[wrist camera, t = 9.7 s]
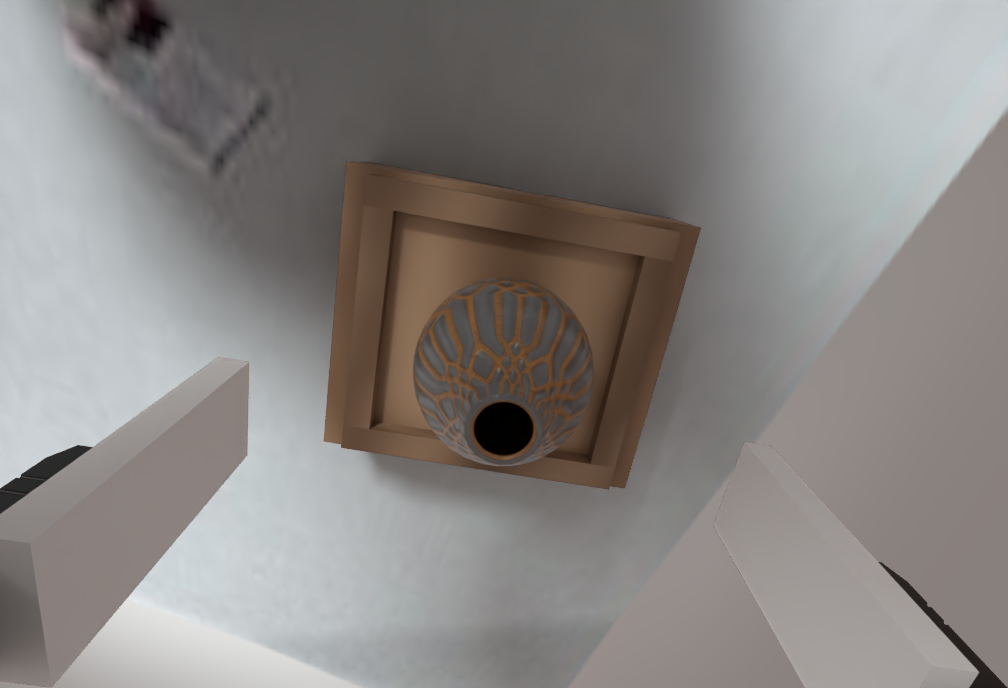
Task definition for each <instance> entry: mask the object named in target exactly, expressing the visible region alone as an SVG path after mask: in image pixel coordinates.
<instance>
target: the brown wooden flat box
mask: <svg viewBox="0 0 1008 688" xmlns="http://www.w3.org/2000/svg"><path fill="white" fill-rule="evenodd" d="M700 229H701V228H700V227H696V226H693V225H690V224H687V223H684V222H680V221H677V220H674V219H670V218H664V217H659V216H654V215H648V214H643V213H637V212H632V211H627V210H621V209H616V208H611V207H605V206H600V205H595V204H589V203H584V202H579V201H573V200H568V199H563V198H557V197H552V196H547V195H541V194H536V193H531V192H525V191H520V190H515V189H509V188H504V187H499V186H493V185H488V184H482V183H477V182H472V181H466V180H461V179H456V178H450V177H445V176H440V175H434V174H429V173H424V172H418V171H413V170H408V169H402V168H397V167H392V166H386V165H381V164H376V163H370V162H346V173H345V185H344V197H343V210H342V222H341V234H340V247H339V259H338V271H337V284H336V296H335V308H334V321H333V333H332V345H331V358H330V370H329V382H328V395H327V407H326V419H325V432H324V441H325V442H331V443H338V444H341V448H347V449H353V450H360V451H366V452H373V453H379V454H385V455H392V456H398V457H405V458H411V459H417V460H424V461H430V462H437V463H443V464H450V465H456V466H462V467H469V468H475V469H482V470H488V471H494V472H501V473H507V474H514V475H520V476H526V477H533V478H539V479H546V480H552V481H558V482H565V483H571V484H578V485H584V486H590V487H597V488H603V489H609V487H610V486H613V487H619V488H625V486H626V483H627V479H628V476H629V473H630V469H631V466H632V462H633V459H634V455H635V452H636V449H637V445H638V442H639V438H640V435H641V431H642V428H643V425H644V421H645V418H646V414H647V411H648V407H649V404H650V401H651V397H652V394H653V390H654V387H655V384H656V380H657V377H658V373H659V370H660V366H661V363H662V360H663V356H664V353H665V349H666V346H667V342H668V339H669V336H670V332H671V329H672V325H673V322H674V318H675V315H676V312H677V308H678V305H679V301H680V298H681V294H682V291H683V288H684V284H685V281H686V277H687V274H688V270H689V267H690V264H691V260H692V257H693V253H694V250H695V246H696V243H697V240H698V236H699V233H700ZM499 277H509V278H518V279H523V280H527V281H530V282H533V283H536V284H538V285H541V286H543V287H545V288H546V289H548V290H550V291H551V292H553V293H554V294H556V295H557V296H558V297H559V298H561V299H562V300H563V301H564V302H565V303H566V304H567V305H568V306H569V307H570V308H571V310H572V311H573V312H574V313H575V315H576V316H577V318H578V319H579V321H580V322H581V324H582V326H583V328H584V330H585V332H586V334H587V337H588V340H589V342H590V345H591V349H592V353H593V360H594V383H593V389H592V394H591V398H590V401H589V404H588V407H587V410H586V412H585V414H584V416H583V418H582V420H581V422H580V423H579V425H578V427H577V428H576V429H575V431H574V432H573V433H572V434H571V436H570V437H569V438H568V439H567V440H566V441H565V442H564V443H563V444H562V445H561V446H559V447H558V448H557V449H555V450H554V451H553V452H551V453H549V454H548V455H546V456H544V457H542V458H540V459H537V460H535V461H532V462H529V463H525V464H521V465H515V466H492V465H486V464H482V463H478V462H475V461H472V460H470V459H467V458H465V457H463V456H461V455H460V454H458V453H456V452H455V451H453V450H452V449H450V448H449V447H448V446H447V445H445V444H444V443H443V442H442V441H441V440H440V439H439V438H438V437H437V436H436V434H435V433H434V432H433V431H432V429H431V428H430V426H429V425H428V423H427V421H426V420H425V418H424V416H423V414H422V412H421V409H420V407H419V404H418V401H417V398H416V394H415V389H414V382H413V361H414V354H415V349H416V346H417V343H418V340H419V337H420V334H421V332H422V330H423V328H424V326H425V324H426V323H427V321H428V319H429V318H430V316H431V315H432V314H433V312H434V311H435V310H436V309H437V307H438V306H439V305H440V304H441V303H442V302H443V301H444V300H445V299H446V298H448V297H449V296H450V295H451V294H453V293H454V292H456V291H457V290H459V289H461V288H462V287H464V286H467V285H469V284H471V283H474V282H477V281H480V280H484V279H489V278H499Z"/></svg>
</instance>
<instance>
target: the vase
mask: <svg viewBox="0 0 1008 688" xmlns="http://www.w3.org/2000/svg"><path fill="white" fill-rule="evenodd" d="M413 382H414V389H415V394H416V398H417V401H418V404H419V407H420V409H421V412H422V414H423V416H424V418H425V420H426V421H427V423H428V425H429V426H430V428H431V429H432V431H433V432H434V433H435V434H436V436H437V437H438V438H439V439H440V440H441V441H442V442H443V443H444V444H445V445H447V446H448V447H449V448H450V449H452V450H453V451H455V452H456V453H458V454H460V455H461V456H463V457H465V458H467V459H470V460H472V461H475V462H478V463H482V464H486V465H492V466H515V465H521V464H525V463H529V462H532V461H535V460H537V459H540V458H542V457H544V456H546V455H548V454H549V453H551V452H553V451H554V450H555V449H557V448H558V447H559V446H561V445H562V444H563V443H564V442H565V441H566V440H567V439H568V438H569V437H570V436H571V434H572V433H573V432H574V431H575V429H576V428H577V427H578V425H579V423H580V422H581V420H582V418H583V416H584V414H585V412H586V410H587V407H588V404H589V401H590V398H591V394H592V389H593V383H594V360H593V353H592V349H591V345H590V342H589V340H588V337H587V334H586V332H585V330H584V328H583V326H582V324H581V322H580V321H579V319H578V318H577V316H576V315H575V313H574V312H573V311H572V310H571V308H570V307H569V306H568V305H567V304H566V303H565V302H564V301H563V300H562V299H561V298H559V297H558V296H557V295H556V294H554V293H553V292H551V291H550V290H548V289H546V288H545V287H543V286H541V285H538V284H536V283H533V282H530V281H527V280H523V279H518V278H509V277H499V278H489V279H484V280H480V281H477V282H474V283H471V284H469V285H467V286H464V287H462V288H461V289H459V290H457V291H456V292H454V293H453V294H451V295H450V296H449V297H448V298H446V299H445V300H444V301H443V302H442V303H441V304H440V305H439V306H438V307H437V309H436V310H435V311H434V312H433V314H432V315H431V316H430V318H429V319H428V321H427V323H426V324H425V326H424V328H423V330H422V332H421V334H420V337H419V340H418V343H417V346H416V349H415V354H414V361H413Z"/></svg>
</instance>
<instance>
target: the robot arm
mask: <svg viewBox="0 0 1008 688" xmlns="http://www.w3.org/2000/svg"><path fill="white" fill-rule="evenodd" d="M248 390H249V362H246V361H240V360H234V359H227V358H221V357H218V358H216V359H215V360H213V361H212V362H211V363H209V364H208V365H206V366H205V367H204V368H202V369H201V370H200V371H198V372H197V373H195V374H194V375H193V376H191V377H190V378H188V379H187V380H186V381H184V382H183V383H182V384H180V385H179V386H177V387H176V388H175V389H173V390H172V391H170V392H169V393H168V394H166V395H165V396H163V397H162V398H161V399H159V400H158V401H157V402H155V403H154V404H152V405H151V406H150V407H148V408H147V409H145V410H144V411H143V412H141V413H140V414H138V415H137V416H136V417H134V418H133V419H132V420H130V421H129V422H127V423H126V424H125V425H123V426H122V427H120V428H119V429H118V430H116V431H115V432H114V433H112V434H111V435H109V436H108V437H107V438H105V439H104V440H102V441H101V442H100V443H98V444H97V445H95V446H94V447H87V446H80V445H77V446H75V447H72V448H70V449H67V450H65V451H62V452H60V453H57V454H55V455H52V456H49V457H47V458H45V459H44V460H42V461H41V462H39V463H38V464H36V465H35V466H33V467H32V468H30V469H29V470H27V471H26V472H24V473H23V474H21V477H20V478H15V479H14V480H12V481H11V482H9V483H8V484H6V485H5V486H3V487H2V488H0V681H1V682H10V683H18V684H26V685H35V686H43V687H53V685H54V684H55V683H56V682H57V681H58V680H59V678H60V677H61V676H62V675H63V674H64V672H65V671H66V670H67V669H68V668H69V666H70V665H71V664H72V663H73V662H74V661H75V659H76V658H77V657H78V656H79V654H80V653H81V652H82V651H83V650H84V649H85V647H86V646H87V645H88V644H89V643H90V642H91V640H92V639H93V638H94V637H95V635H96V634H97V633H98V632H99V631H100V630H101V628H102V627H103V626H104V625H105V624H106V622H107V621H108V620H109V619H110V618H111V617H112V615H113V614H114V613H115V612H116V611H117V609H118V608H119V607H120V606H121V605H122V604H123V602H124V601H125V600H126V599H127V598H128V596H129V595H130V594H131V593H132V592H133V590H134V589H135V588H136V587H137V586H138V585H139V583H140V582H141V581H142V580H143V579H144V577H145V576H146V575H147V574H148V573H149V571H150V570H151V569H152V568H153V567H154V565H155V564H156V563H157V562H158V561H159V560H160V558H161V557H162V556H163V555H164V554H165V552H166V551H167V550H168V549H169V548H170V546H171V545H172V544H173V543H174V542H175V541H176V539H177V538H178V537H179V536H180V535H181V533H182V532H183V531H184V530H185V529H186V527H187V526H188V525H189V524H190V523H191V522H192V520H193V519H194V518H195V517H196V516H197V514H198V513H199V512H200V511H201V510H202V508H203V507H204V506H205V505H206V504H207V503H208V501H209V500H210V499H211V498H212V497H213V495H214V494H215V493H216V492H217V491H218V489H219V488H220V487H221V486H222V485H223V484H224V482H225V481H226V480H227V479H228V478H229V476H230V475H231V474H232V473H233V472H234V470H235V469H236V468H237V467H238V466H239V464H240V463H241V462H242V461H243V460H244V459H245V457H246V456H247V443H248ZM713 526H714V528H715V530H716V532H717V533H718V535H719V537H720V539H721V540H722V542H723V544H724V546H725V547H726V549H727V551H728V553H729V554H730V556H731V558H732V560H733V562H734V563H735V565H736V567H737V569H738V570H739V572H740V574H741V576H742V577H743V579H744V581H745V583H746V584H747V586H748V588H749V590H750V591H751V593H752V595H753V597H754V599H755V600H756V602H757V604H758V606H759V607H760V609H761V611H762V613H763V614H764V616H765V618H766V620H767V622H768V623H769V625H770V627H771V629H772V630H773V632H774V634H775V636H776V638H777V639H778V641H779V643H780V644H781V646H782V648H783V650H784V652H785V653H786V655H787V657H788V659H789V660H790V662H791V664H792V666H793V668H794V669H795V671H796V673H797V675H798V676H799V678H800V680H801V681H802V683H803V685H804V687H805V688H1007V687H1006V686H1005V685H1004V684H1003V683H1002V682H1001V680H999V678H998V677H997V676H996V675H995V674H994V673H993V672H992V671H991V670H990V669H989V668H988V667H987V666H986V665H985V664H984V662H983V661H982V660H981V659H980V658H979V657H978V656H977V655H976V654H975V653H974V652H973V651H972V650H971V649H970V648H969V647H968V646H967V644H966V643H965V642H964V641H963V640H962V639H961V638H960V637H959V636H958V635H957V634H956V633H955V632H954V631H953V630H952V629H951V628H950V627H949V625H945V624H944V620H943V619H942V618H941V617H940V616H939V615H938V614H937V613H936V612H935V611H934V610H933V608H931V607H928V606H927V602H926V601H925V600H924V599H923V598H922V597H921V596H920V595H919V594H918V593H917V592H916V591H915V589H914V588H913V587H912V586H911V585H910V584H909V583H908V582H907V581H906V580H904V579H903V578H902V577H900V576H899V575H897V574H896V573H895V572H893V571H892V570H891V569H889V568H888V567H887V566H885V565H884V564H883V563H881V562H878V561H877V560H876V559H875V558H874V557H873V556H872V555H871V554H870V553H869V552H868V551H867V550H866V548H865V547H864V546H863V545H862V544H861V543H860V542H859V541H858V540H857V539H856V538H855V536H854V535H853V534H852V533H851V532H850V531H849V530H848V529H847V528H846V527H845V526H844V524H843V523H842V522H841V521H840V520H839V519H838V518H837V517H836V516H835V515H834V514H833V512H832V511H831V510H830V509H829V508H828V507H827V506H826V505H825V504H824V503H823V502H822V500H820V498H819V497H818V496H817V495H816V494H815V493H814V492H813V491H812V490H811V489H810V487H809V486H808V485H807V484H806V483H805V482H804V481H803V480H802V479H801V478H800V477H799V475H798V474H797V473H796V472H795V471H794V470H793V469H792V468H791V467H790V466H789V465H788V463H787V462H786V461H785V460H784V459H783V458H782V457H781V456H780V455H779V454H778V453H777V451H776V450H775V449H774V448H773V447H772V446H768V445H762V444H756V443H750V442H744V444H743V446H742V449H741V452H740V454H739V457H738V460H737V462H736V465H735V468H734V470H733V473H732V476H731V478H730V481H729V483H728V486H727V489H726V492H725V494H724V497H723V499H722V502H721V505H720V507H719V510H718V513H717V515H716V518H715V521H714V523H713Z"/></svg>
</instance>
